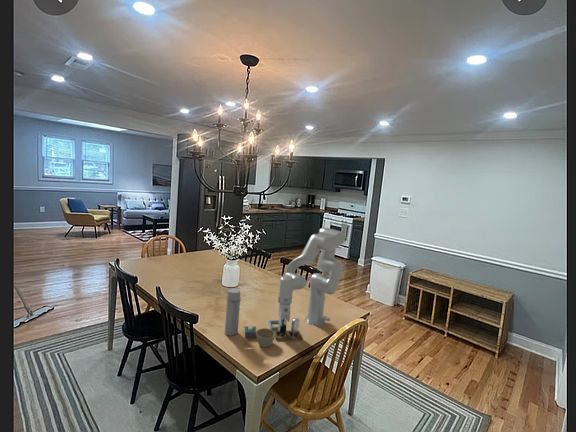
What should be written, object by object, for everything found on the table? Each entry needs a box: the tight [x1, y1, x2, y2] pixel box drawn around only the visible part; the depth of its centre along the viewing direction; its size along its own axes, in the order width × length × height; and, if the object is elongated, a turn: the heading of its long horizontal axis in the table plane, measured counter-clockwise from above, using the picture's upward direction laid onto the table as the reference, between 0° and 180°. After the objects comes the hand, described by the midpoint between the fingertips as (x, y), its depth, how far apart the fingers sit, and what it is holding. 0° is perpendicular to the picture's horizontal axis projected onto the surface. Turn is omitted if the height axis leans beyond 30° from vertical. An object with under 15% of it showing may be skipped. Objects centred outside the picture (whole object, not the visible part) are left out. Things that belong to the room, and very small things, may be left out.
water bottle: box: [224, 287, 242, 337], centre depth 169 cm, size 9×8×25 cm
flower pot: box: [256, 327, 275, 348], centre depth 162 cm, size 10×10×7 cm
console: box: [244, 325, 257, 339], centre depth 170 cm, size 6×6×4 cm
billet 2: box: [290, 317, 300, 337], centre depth 171 cm, size 4×4×10 cm
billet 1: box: [277, 316, 285, 337], centre depth 169 cm, size 4×4×10 cm
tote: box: [268, 319, 279, 331], centre depth 181 cm, size 8×8×3 cm
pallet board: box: [273, 329, 303, 341], centre depth 171 cm, size 14×7×3 cm, turn 101°
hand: (282, 330), depth 170 cm, fingers closed on billet 1, 4 cm apart
